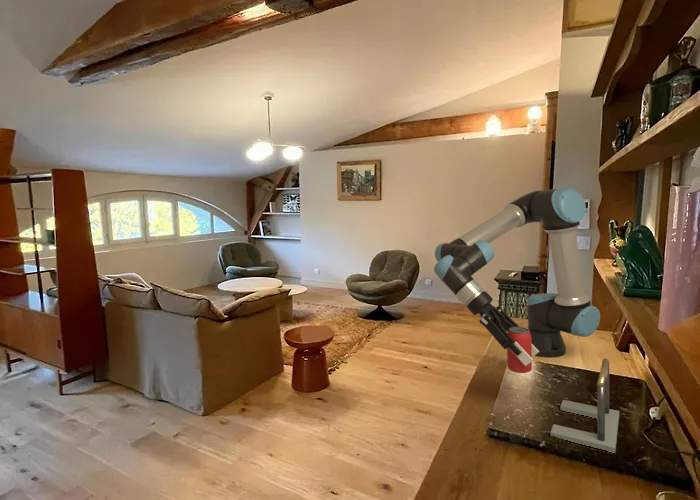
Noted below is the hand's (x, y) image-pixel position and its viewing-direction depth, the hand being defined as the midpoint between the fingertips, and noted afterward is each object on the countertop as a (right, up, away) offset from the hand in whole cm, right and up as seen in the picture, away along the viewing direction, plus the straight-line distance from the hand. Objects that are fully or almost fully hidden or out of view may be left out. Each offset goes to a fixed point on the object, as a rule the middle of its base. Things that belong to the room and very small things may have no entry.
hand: (532, 358), depth 116 cm
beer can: (-3, -4, +3) cm, 6 cm away
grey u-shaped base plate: (+11, -16, -7) cm, 21 cm away
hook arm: (+14, -16, -10) cm, 24 cm away
